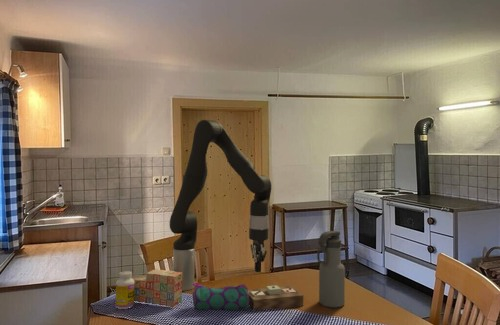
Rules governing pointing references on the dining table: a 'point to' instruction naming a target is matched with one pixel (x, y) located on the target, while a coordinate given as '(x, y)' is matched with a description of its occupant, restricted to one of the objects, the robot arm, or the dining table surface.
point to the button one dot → (273, 290)
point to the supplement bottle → (125, 290)
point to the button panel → (275, 299)
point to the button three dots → (257, 293)
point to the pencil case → (221, 297)
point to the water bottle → (331, 271)
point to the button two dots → (288, 290)
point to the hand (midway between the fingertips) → (257, 271)
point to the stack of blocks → (158, 287)
